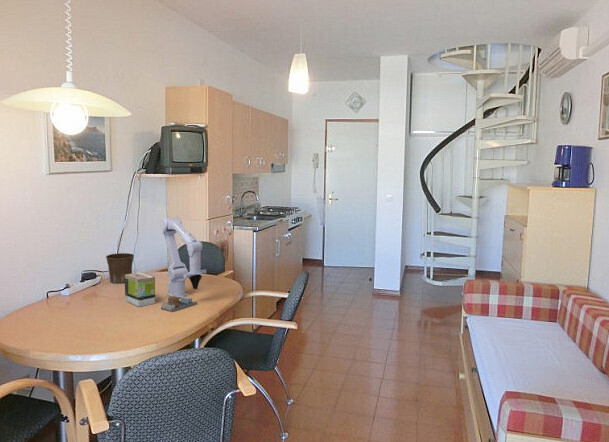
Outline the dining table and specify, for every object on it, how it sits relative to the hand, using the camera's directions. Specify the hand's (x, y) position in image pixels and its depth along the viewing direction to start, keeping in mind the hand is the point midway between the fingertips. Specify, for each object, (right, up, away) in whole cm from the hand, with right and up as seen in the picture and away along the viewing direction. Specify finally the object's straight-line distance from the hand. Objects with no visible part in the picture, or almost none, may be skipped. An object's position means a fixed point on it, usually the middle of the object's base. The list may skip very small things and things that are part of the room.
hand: (195, 288), depth 255 cm
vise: (-6, -8, -8) cm, 13 cm away
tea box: (-29, -7, -2) cm, 30 cm away
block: (-8, -8, -11) cm, 16 cm away
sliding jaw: (-4, -7, -4) cm, 9 cm away
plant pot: (-55, -1, +39) cm, 67 cm away
